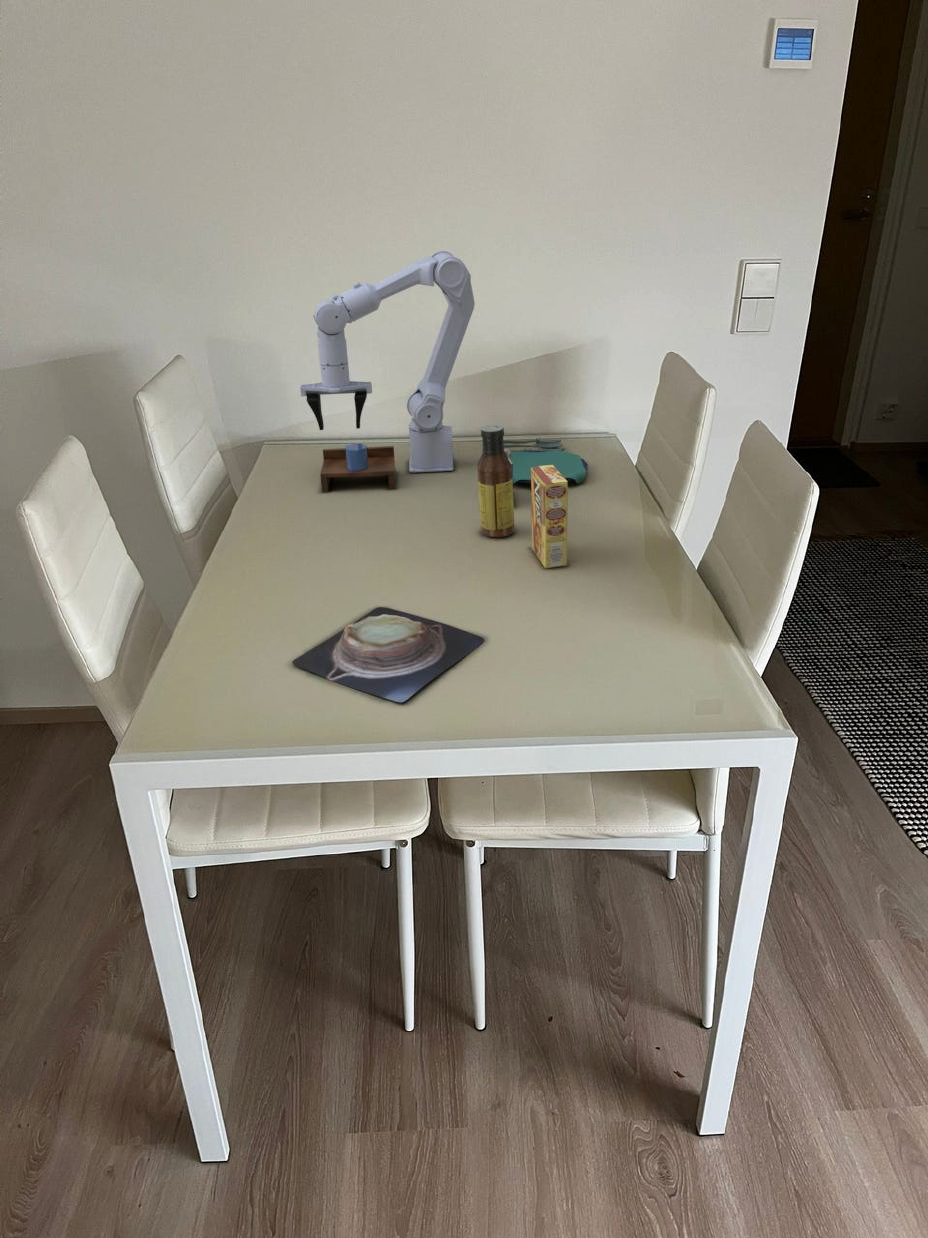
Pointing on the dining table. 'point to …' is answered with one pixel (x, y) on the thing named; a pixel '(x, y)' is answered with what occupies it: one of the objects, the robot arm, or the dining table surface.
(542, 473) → the candy box
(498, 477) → the sauce bottle
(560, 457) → the cutlery set
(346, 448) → the blue cup
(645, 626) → the dining table surface
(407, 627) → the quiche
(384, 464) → the shelf
